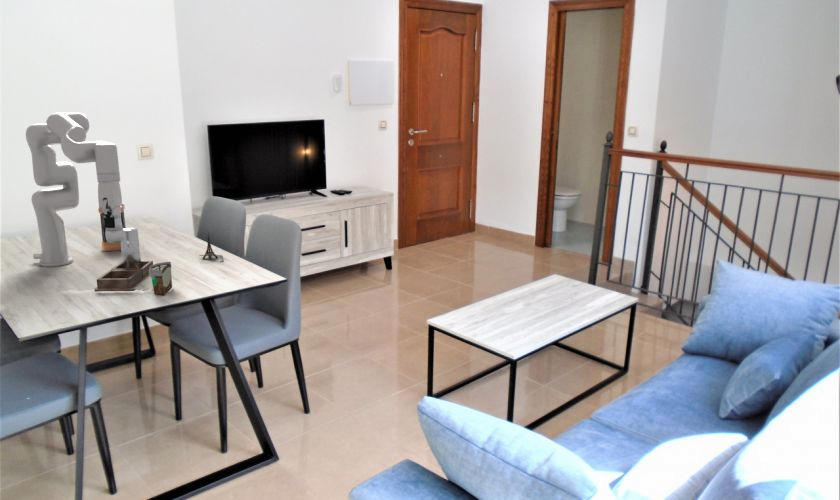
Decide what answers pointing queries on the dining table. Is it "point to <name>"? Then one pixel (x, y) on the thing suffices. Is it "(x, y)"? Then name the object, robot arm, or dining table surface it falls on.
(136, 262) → the grey metal canister
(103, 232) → the whiskey bottle
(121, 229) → the plastic bottle
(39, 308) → the dining table surface
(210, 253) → the eiffel tower figurine
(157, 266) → the food container
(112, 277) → the wooden compartment tray
